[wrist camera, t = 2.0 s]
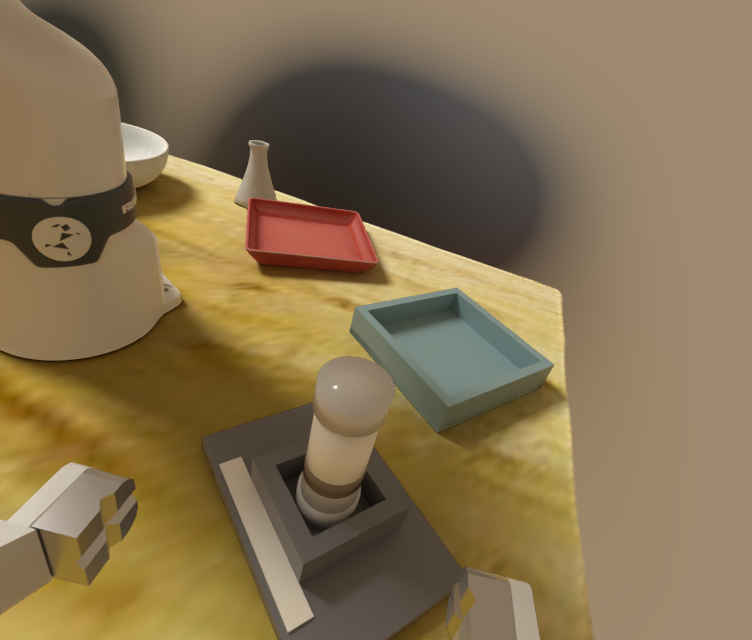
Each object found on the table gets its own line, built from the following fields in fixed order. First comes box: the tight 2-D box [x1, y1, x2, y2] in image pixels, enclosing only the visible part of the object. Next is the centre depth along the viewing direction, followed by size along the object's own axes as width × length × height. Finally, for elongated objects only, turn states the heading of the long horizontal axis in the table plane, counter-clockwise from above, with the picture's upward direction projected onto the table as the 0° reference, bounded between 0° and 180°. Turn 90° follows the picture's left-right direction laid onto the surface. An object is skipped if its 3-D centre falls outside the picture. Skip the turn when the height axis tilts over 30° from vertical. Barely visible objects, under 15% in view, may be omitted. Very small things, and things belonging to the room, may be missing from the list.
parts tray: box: [350, 288, 554, 433], centre depth 48 cm, size 16×16×4 cm
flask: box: [234, 140, 277, 208], centre depth 71 cm, size 7×7×10 cm
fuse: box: [294, 356, 395, 533], centre depth 27 cm, size 4×4×12 cm
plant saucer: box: [245, 198, 379, 273], centre depth 65 cm, size 18×18×3 cm
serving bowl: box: [121, 123, 169, 188], centre depth 66 cm, size 21×21×7 cm
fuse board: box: [202, 402, 462, 640], centre depth 30 cm, size 18×12×4 cm, turn 34°
